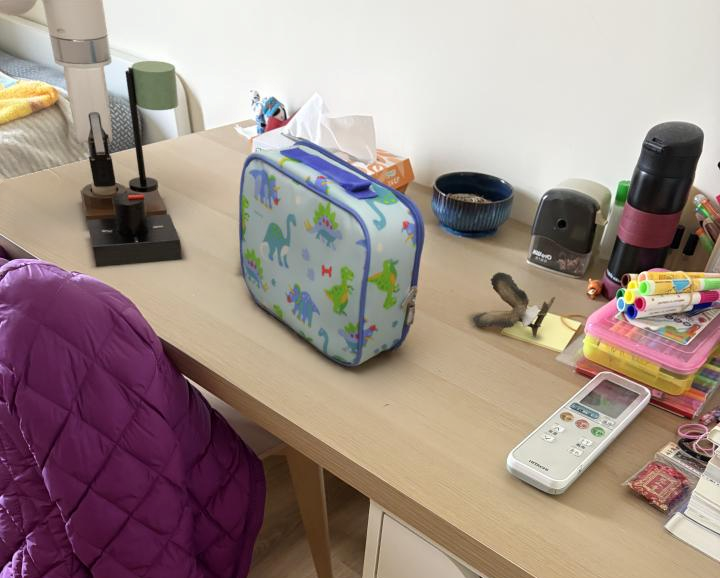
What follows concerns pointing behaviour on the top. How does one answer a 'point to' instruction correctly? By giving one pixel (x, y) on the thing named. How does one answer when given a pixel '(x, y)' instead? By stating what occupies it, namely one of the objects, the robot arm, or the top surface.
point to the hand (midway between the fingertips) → (104, 184)
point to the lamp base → (103, 204)
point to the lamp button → (103, 190)
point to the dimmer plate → (134, 242)
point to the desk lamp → (149, 106)
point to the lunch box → (329, 250)
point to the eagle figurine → (516, 301)
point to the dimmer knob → (130, 213)
